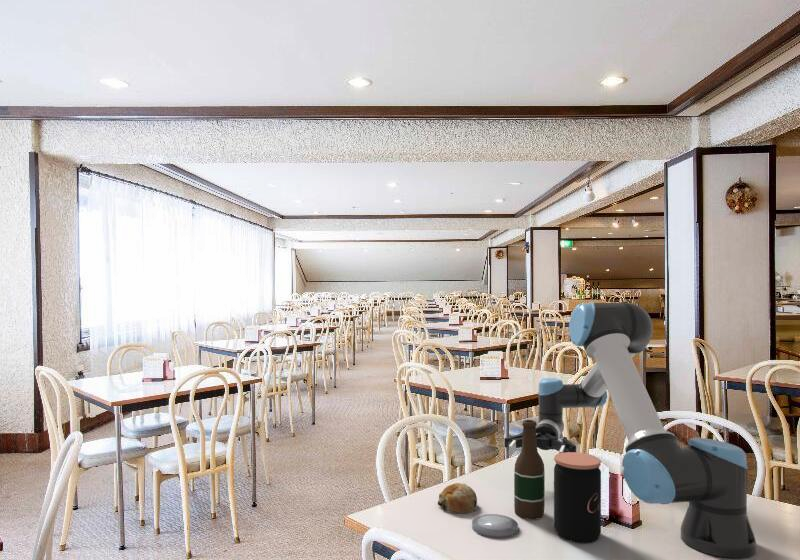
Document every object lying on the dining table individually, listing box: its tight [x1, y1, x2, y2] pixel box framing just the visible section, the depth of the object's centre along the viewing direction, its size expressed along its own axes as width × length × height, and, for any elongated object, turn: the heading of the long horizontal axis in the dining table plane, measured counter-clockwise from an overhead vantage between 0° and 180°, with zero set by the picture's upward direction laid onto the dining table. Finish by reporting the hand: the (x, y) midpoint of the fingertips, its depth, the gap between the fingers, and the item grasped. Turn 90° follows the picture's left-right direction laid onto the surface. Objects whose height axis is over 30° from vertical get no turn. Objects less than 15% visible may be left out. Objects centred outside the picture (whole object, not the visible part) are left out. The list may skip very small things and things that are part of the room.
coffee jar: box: [553, 451, 602, 544], centre depth 136 cm, size 11×11×18 cm
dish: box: [471, 513, 519, 539], centre depth 140 cm, size 11×11×1 cm
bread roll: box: [437, 482, 478, 515], centre depth 153 cm, size 10×10×8 cm
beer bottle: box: [513, 419, 546, 521], centre depth 148 cm, size 8×8×24 cm
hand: (534, 453), depth 157 cm, fingers open, 13 cm apart
